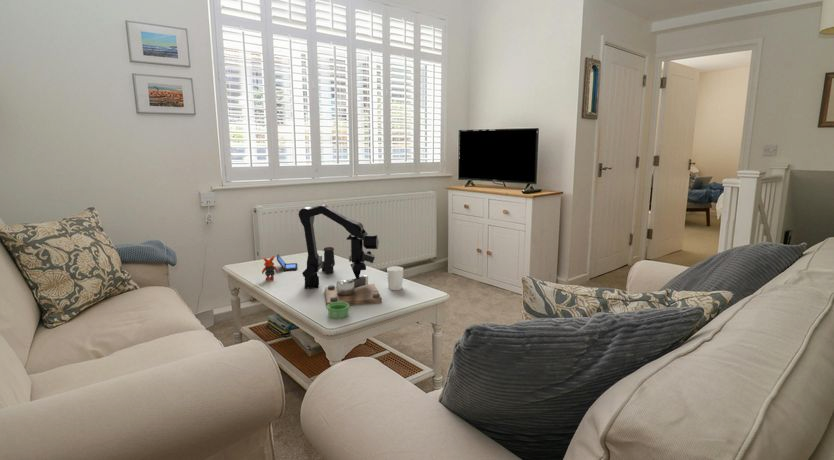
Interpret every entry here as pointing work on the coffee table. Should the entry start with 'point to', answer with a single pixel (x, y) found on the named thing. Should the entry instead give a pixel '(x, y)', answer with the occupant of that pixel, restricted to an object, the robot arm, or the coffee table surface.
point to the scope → (328, 260)
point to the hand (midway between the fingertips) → (357, 279)
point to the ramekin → (338, 309)
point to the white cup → (395, 277)
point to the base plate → (354, 295)
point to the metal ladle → (350, 285)
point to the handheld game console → (286, 266)
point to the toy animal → (269, 268)
